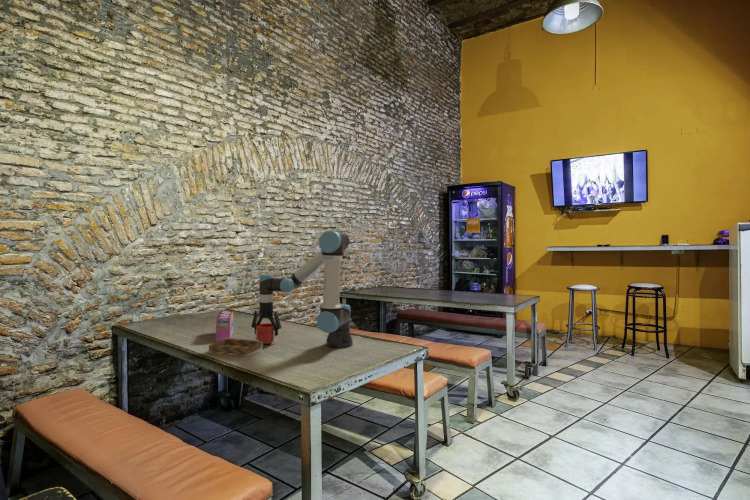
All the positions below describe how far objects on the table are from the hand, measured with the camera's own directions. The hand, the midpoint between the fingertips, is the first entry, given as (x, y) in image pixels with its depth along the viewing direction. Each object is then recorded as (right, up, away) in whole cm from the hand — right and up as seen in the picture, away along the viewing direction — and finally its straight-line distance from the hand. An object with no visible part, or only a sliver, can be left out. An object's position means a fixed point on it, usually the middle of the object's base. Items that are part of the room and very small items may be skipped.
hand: (266, 340), depth 237 cm
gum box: (-29, -1, +14) cm, 32 cm away
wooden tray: (-12, -2, -16) cm, 20 cm away
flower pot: (0, -1, 0) cm, 1 cm away
